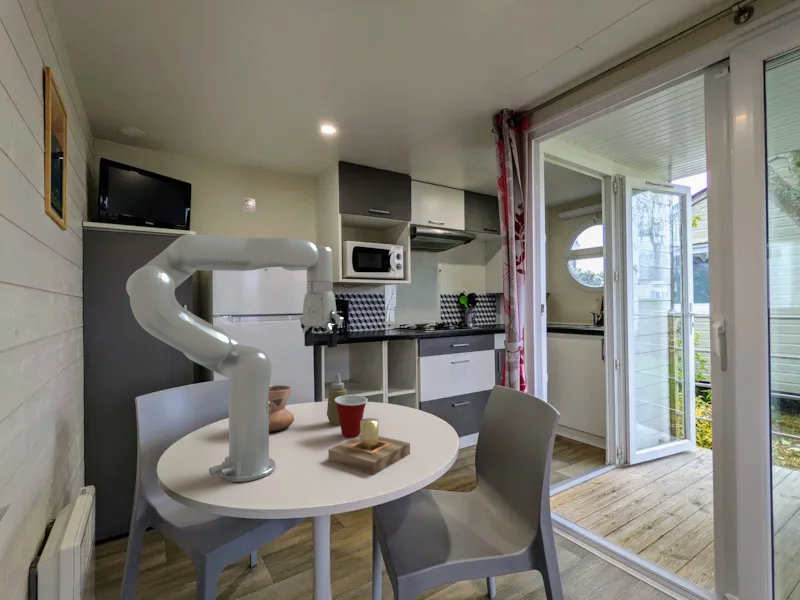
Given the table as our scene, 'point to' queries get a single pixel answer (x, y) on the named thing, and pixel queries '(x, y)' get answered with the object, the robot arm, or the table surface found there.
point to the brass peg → (369, 434)
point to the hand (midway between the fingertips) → (320, 346)
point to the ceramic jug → (279, 407)
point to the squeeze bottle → (334, 393)
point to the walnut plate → (369, 454)
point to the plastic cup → (350, 414)
